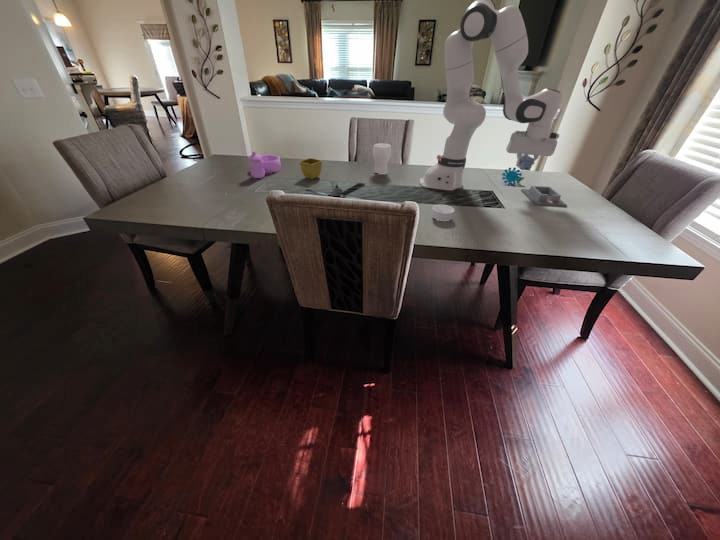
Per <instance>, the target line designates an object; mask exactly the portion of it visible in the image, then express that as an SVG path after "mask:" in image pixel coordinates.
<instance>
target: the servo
mask: <svg viewBox="0 0 720 540" xmlns="http://www.w3.org/2000/svg"><path fill="white" fill-rule="evenodd" d="M533 158H534V157H533V156H530V155H528V154H522V156H520V159H521V160H522V162H521V164H517V163H516V164H515V166H516V167H517V168H518V169H519V170H520V171H531V168H532V166H533V165H535V161H534V159H533ZM532 164H533V165H532Z"/></svg>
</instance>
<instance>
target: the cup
mask: <svg viewBox="0 0 720 540" xmlns="http://www.w3.org/2000/svg"><path fill="white" fill-rule="evenodd" d="M392 151H393V150H392V146H391V144H389V143H382V142H381V143H374V145H373V147H372V158H373V161H374V162H375V163H374V164H375V166H374V172H375V173H378V174H377V175H379V174H384V175H387V174H388V163H389V160H390V159H391V156H392ZM374 172H373V173H374ZM375 173H374V174H375Z"/></svg>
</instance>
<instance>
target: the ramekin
mask: <svg viewBox="0 0 720 540" xmlns="http://www.w3.org/2000/svg"><path fill="white" fill-rule="evenodd" d="M454 212H455V208H454V207H452V206H450V205H448V204H435V205H433V206H432V214H431V217H432V216H433V217H434V218H436V219H438V220H443V221H445V220H450V219H451V218H453V215H454ZM451 220H452V219H451ZM451 220H450V221H451Z"/></svg>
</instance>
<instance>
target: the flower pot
mask: <svg viewBox="0 0 720 540" xmlns="http://www.w3.org/2000/svg"><path fill="white" fill-rule="evenodd" d="M299 165H300V168H301V172H302V174H303V176H304V178H306V179H309V178H310V180H315V179H317V178H319V177H320V175H321V172H322V168H323V167H322V166H323V160H320V159H316V158H311V157H309V158H306V159H303V160H300V161H299ZM316 177H317V178H316ZM314 178H315V179H314Z"/></svg>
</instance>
